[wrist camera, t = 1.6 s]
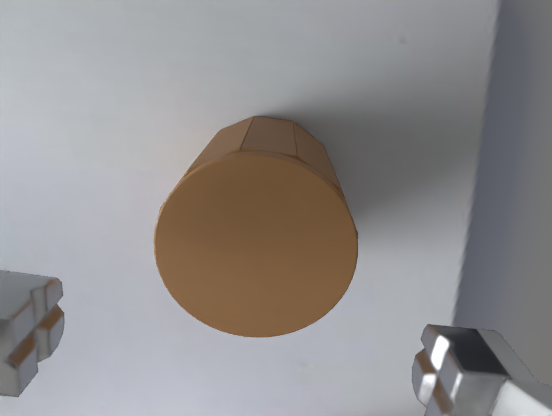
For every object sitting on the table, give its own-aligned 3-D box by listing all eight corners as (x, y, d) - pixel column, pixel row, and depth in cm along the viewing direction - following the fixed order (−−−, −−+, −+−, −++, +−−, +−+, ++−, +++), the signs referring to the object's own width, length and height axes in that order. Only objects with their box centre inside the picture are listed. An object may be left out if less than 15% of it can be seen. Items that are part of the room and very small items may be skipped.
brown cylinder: (201, 108, 16) (155, 140, 10) (345, 128, 16) (379, 171, 10) (192, 239, 18) (150, 326, 12) (320, 255, 18) (337, 348, 12)
